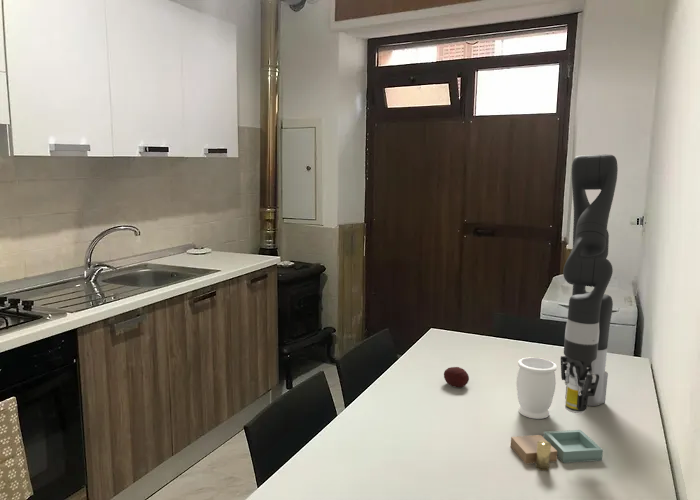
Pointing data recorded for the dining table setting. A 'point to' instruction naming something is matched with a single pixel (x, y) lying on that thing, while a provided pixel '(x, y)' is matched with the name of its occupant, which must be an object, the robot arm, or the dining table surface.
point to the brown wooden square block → (530, 448)
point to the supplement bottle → (572, 396)
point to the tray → (574, 446)
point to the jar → (535, 386)
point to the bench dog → (543, 455)
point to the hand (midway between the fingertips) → (575, 404)
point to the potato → (456, 377)
